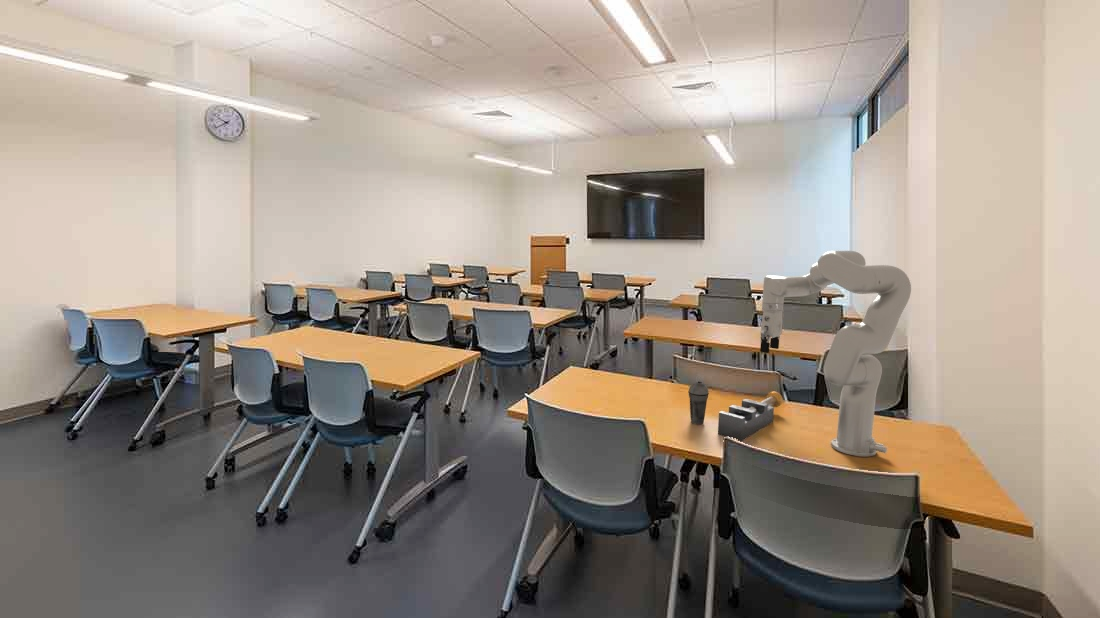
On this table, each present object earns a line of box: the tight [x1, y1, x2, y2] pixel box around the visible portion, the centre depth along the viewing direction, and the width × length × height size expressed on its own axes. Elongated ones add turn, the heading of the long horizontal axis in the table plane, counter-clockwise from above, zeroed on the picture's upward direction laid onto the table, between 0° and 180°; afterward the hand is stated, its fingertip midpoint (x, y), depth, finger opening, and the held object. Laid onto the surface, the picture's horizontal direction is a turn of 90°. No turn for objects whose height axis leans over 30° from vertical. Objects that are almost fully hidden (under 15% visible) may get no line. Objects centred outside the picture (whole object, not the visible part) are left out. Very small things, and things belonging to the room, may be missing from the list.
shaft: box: [742, 391, 784, 417], centre depth 185 cm, size 6×25×6 cm, turn 134°
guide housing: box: [717, 398, 775, 442], centre depth 177 cm, size 8×26×8 cm, turn 134°
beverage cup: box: [688, 370, 710, 426], centre depth 181 cm, size 7×7×20 cm
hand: (769, 350), depth 193 cm, fingers open, 9 cm apart
